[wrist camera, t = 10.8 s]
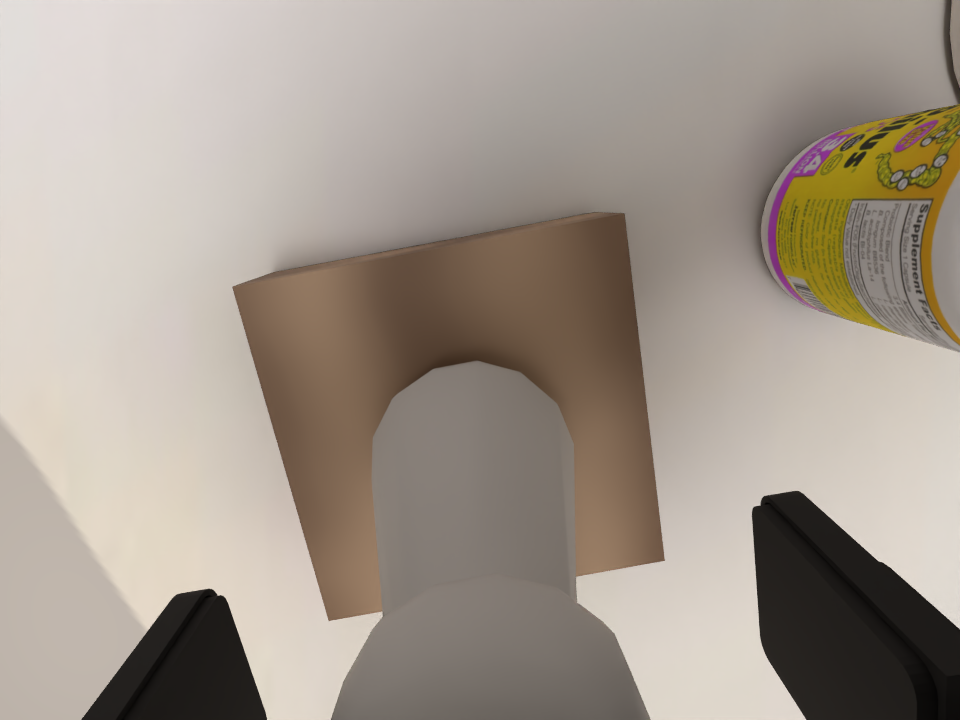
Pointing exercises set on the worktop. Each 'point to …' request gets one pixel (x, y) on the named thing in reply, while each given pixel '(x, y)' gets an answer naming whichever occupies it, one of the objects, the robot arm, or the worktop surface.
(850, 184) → the supplement bottle
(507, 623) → the salt shaker
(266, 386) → the walnut riser block
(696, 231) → the worktop surface
